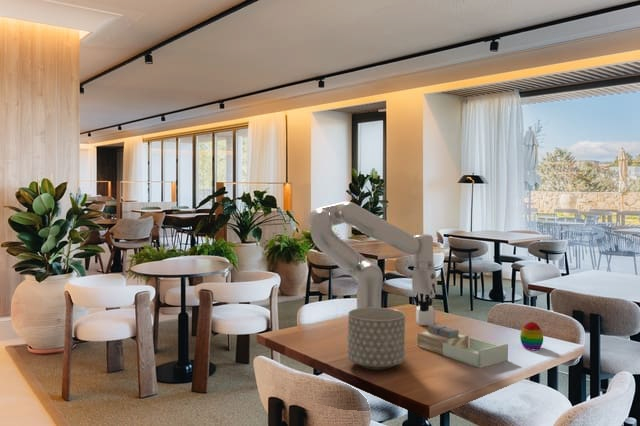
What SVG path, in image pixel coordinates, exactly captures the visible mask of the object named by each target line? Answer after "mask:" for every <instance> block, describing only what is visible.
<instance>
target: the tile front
mask: <svg viewBox="0 0 640 426" xmlns="http://www.w3.org/2000/svg"><path fill="white" fill-rule="evenodd" d="M459 333H460V332H459V329H456V328H452V327H447V328H443V329H439V336H442V337H445V338H449V339H450V338H455V337H458V334H459Z"/></svg>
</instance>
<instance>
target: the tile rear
mask: <svg viewBox="0 0 640 426" xmlns="http://www.w3.org/2000/svg"><path fill="white" fill-rule="evenodd" d="M443 328H448V327H447V326H445V325H442V324H438V323H436V324H435V323H434V325H427V331H428V332H429V333H432V334H436V335H439V329H443Z"/></svg>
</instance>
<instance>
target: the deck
mask: <svg viewBox="0 0 640 426" xmlns="http://www.w3.org/2000/svg"><path fill="white" fill-rule="evenodd" d="M443 343H446V344H449V345H452V346H455V347H459V348H462V349H465V348H469V343H470V337H469V335H467V334H464V333H460V332H459V334H458V337H455V338H450V339H449V338H445V337H442V336H439V335H436V334H432V333H429V332H428V330H427V331H422V332H418V333H417V347H419V348H423V349H425V350H428V351H431V352H433V353H437V354H440V355H442V356H443Z"/></svg>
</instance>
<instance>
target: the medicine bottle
mask: <svg viewBox="0 0 640 426" xmlns="http://www.w3.org/2000/svg"><path fill="white" fill-rule="evenodd" d="M415 312H416V313H415V322H416V323H417V324H418V326H429V325H435V314H436V311H435V309H434V308H433V298H431V299H430V301H429V310H428V311H424V312H423V311H420V301H419V300H418V306H416V309H415Z"/></svg>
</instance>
